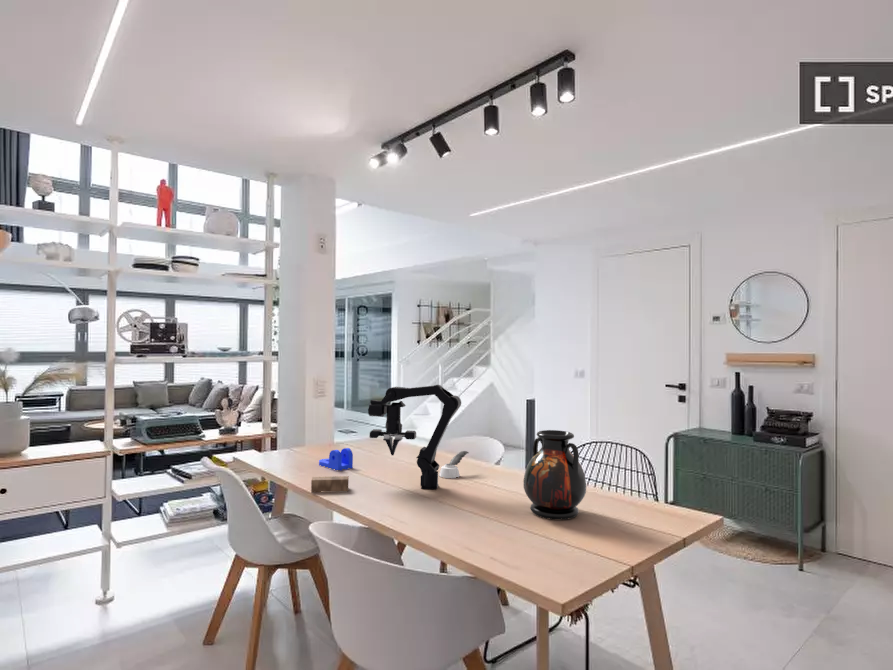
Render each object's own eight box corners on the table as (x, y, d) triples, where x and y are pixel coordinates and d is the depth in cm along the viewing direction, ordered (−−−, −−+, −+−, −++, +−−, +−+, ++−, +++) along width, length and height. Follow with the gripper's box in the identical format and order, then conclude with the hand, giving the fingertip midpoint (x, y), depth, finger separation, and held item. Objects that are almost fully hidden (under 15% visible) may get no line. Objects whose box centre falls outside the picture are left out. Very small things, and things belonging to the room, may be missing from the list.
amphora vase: (510, 511, 183) (511, 431, 184) (549, 500, 197) (550, 426, 197) (559, 528, 166) (561, 440, 167) (598, 515, 180) (599, 434, 181)
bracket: (352, 468, 243) (352, 449, 243) (337, 471, 237) (338, 451, 237) (330, 462, 255) (330, 443, 255) (315, 464, 249) (316, 445, 249)
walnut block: (348, 476, 209) (312, 476, 207) (348, 479, 204) (311, 480, 202) (348, 488, 209) (312, 489, 207) (347, 492, 204) (311, 493, 202)
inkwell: (434, 476, 231) (435, 453, 231) (459, 469, 245) (460, 447, 245) (450, 479, 225) (451, 456, 225) (475, 472, 239) (476, 450, 239)
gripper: (418, 415, 223) (417, 452, 223) (375, 414, 225) (375, 450, 225) (414, 419, 212) (413, 457, 212) (369, 417, 214) (368, 455, 214)
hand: (392, 455), depth 216 cm, fingers closed
